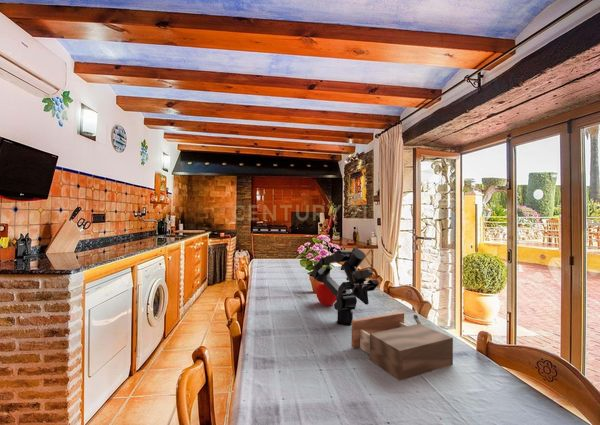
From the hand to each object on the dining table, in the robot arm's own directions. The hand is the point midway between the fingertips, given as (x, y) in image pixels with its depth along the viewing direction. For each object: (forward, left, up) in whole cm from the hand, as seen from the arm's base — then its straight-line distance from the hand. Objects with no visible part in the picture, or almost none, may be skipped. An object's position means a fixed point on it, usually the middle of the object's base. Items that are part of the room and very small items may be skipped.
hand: (367, 304), depth 120 cm
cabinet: (+16, -17, -13) cm, 27 cm away
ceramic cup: (-23, +36, -13) cm, 45 cm away
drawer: (+9, -10, -13) cm, 19 cm away
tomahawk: (+24, +23, -14) cm, 36 cm away
